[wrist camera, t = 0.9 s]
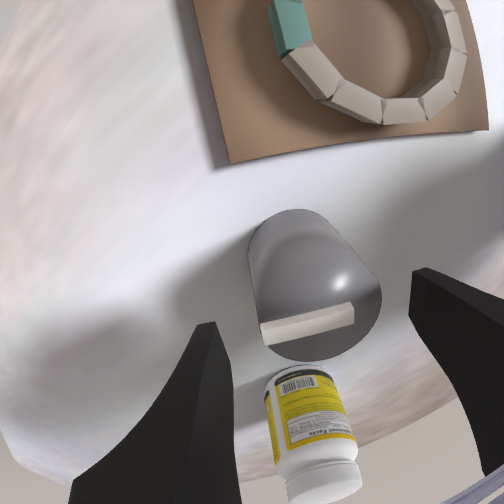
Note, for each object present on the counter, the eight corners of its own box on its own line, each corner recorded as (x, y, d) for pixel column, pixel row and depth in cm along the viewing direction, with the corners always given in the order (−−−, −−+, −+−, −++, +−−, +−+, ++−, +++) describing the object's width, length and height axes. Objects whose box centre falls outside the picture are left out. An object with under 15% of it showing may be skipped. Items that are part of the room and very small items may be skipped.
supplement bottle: (301, 411, 21) (324, 509, 13) (249, 396, 19) (262, 508, 12) (345, 373, 19) (386, 477, 12) (293, 353, 18) (327, 477, 10)
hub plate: (445, -31, 8) (470, -41, 6) (479, 128, 12) (508, 135, 10) (183, -39, 8) (177, -64, 6) (230, 161, 13) (231, 171, 10)
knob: (333, 200, 14) (387, 250, 9) (341, 281, 16) (382, 350, 11) (238, 221, 14) (247, 284, 9) (258, 301, 16) (272, 380, 11)
